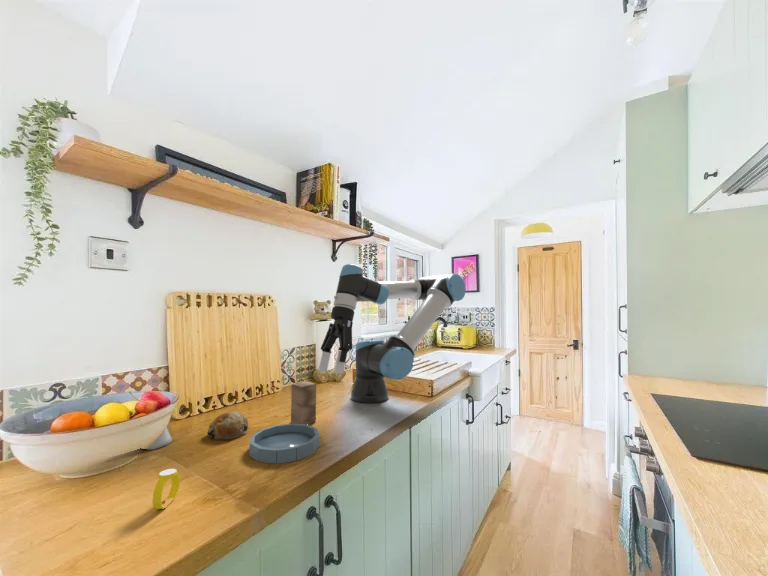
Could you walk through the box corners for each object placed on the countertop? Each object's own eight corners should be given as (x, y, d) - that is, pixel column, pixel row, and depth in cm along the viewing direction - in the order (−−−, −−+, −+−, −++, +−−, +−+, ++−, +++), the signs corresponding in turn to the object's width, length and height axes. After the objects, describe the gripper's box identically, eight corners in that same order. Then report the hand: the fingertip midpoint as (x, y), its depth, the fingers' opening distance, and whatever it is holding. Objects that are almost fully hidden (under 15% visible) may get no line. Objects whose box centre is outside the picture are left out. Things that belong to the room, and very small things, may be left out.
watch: (167, 497, 62) (170, 464, 63) (182, 497, 62) (185, 464, 63) (146, 515, 56) (150, 478, 57) (163, 514, 56) (166, 478, 57)
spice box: (305, 417, 106) (306, 381, 107) (315, 421, 102) (316, 383, 103) (290, 422, 102) (291, 384, 103) (301, 426, 98) (301, 386, 99)
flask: (154, 452, 81) (156, 411, 81) (130, 449, 82) (132, 409, 83) (177, 440, 88) (179, 403, 88) (155, 438, 89) (157, 401, 90)
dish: (294, 429, 96) (294, 419, 96) (331, 446, 85) (331, 434, 85) (237, 448, 83) (238, 436, 83) (272, 470, 72) (273, 456, 72)
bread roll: (235, 453, 88) (249, 425, 89) (199, 440, 86) (214, 412, 87) (243, 439, 98) (256, 414, 99) (210, 426, 96) (224, 401, 97)
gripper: (320, 310, 117) (306, 369, 111) (349, 299, 96) (334, 371, 90) (339, 315, 120) (326, 372, 114) (371, 306, 100) (357, 376, 93)
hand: (329, 372), depth 102 cm, fingers open, 13 cm apart
